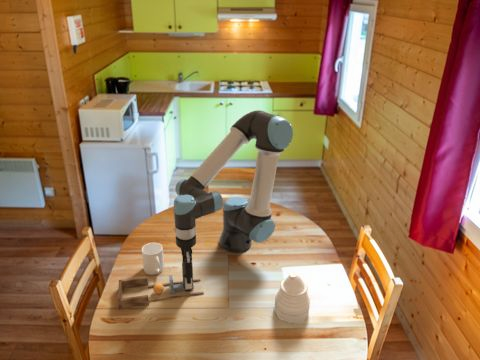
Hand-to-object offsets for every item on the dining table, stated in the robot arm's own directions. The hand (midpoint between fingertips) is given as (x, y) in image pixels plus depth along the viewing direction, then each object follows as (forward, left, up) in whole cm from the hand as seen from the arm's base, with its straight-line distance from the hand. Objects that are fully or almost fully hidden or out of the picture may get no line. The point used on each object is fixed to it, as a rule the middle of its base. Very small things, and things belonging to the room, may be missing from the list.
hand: (188, 284), depth 158 cm
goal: (+21, 0, -2) cm, 21 cm away
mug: (+12, -14, -2) cm, 19 cm away
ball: (+12, 0, 0) cm, 12 cm away
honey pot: (-36, +20, -2) cm, 42 cm away
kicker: (+3, 0, -2) cm, 3 cm away
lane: (+6, 0, -2) cm, 6 cm away
